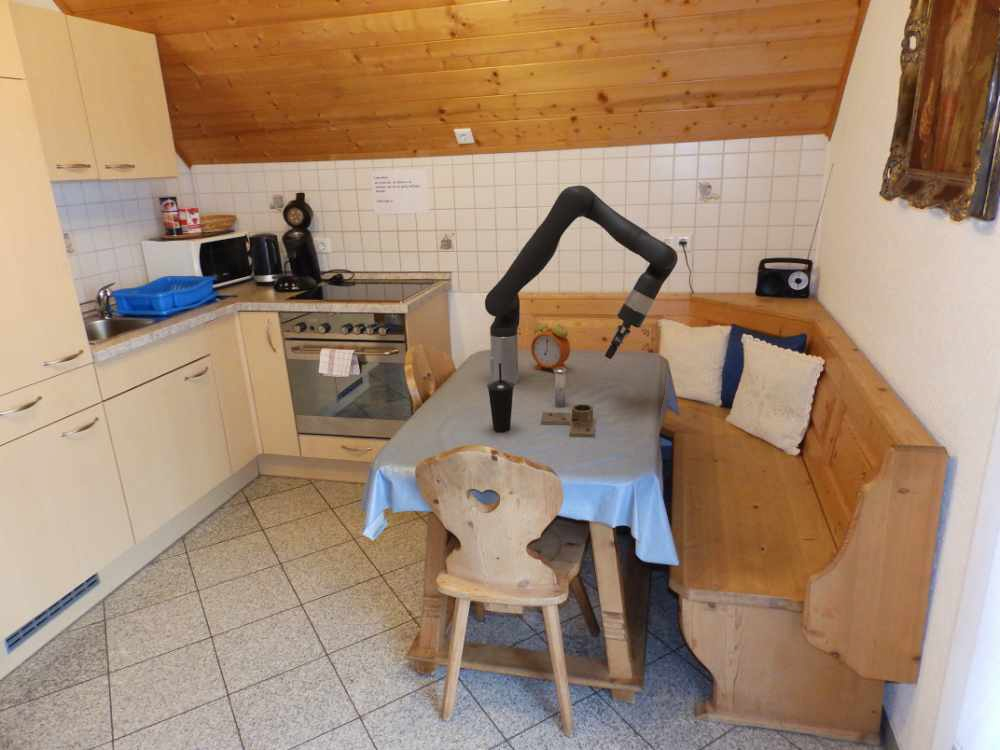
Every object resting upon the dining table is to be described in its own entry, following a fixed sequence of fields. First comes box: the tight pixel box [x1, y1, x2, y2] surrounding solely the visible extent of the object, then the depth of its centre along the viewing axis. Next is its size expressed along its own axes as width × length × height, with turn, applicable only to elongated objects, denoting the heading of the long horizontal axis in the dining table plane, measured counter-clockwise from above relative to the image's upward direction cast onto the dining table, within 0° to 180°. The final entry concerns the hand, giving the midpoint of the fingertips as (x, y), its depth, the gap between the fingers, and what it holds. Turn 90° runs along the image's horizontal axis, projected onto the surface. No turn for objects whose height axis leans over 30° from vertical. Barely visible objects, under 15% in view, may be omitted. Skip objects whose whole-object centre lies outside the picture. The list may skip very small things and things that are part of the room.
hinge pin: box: [553, 367, 567, 408], centre depth 210 cm, size 4×4×12 cm
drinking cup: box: [486, 363, 515, 434], centre depth 192 cm, size 8×8×20 cm
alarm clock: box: [530, 315, 571, 374], centre depth 243 cm, size 13×6×20 cm, turn 55°
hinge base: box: [540, 403, 596, 438], centre depth 195 cm, size 16×16×4 cm
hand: (608, 356), depth 202 cm, fingers open, 8 cm apart
